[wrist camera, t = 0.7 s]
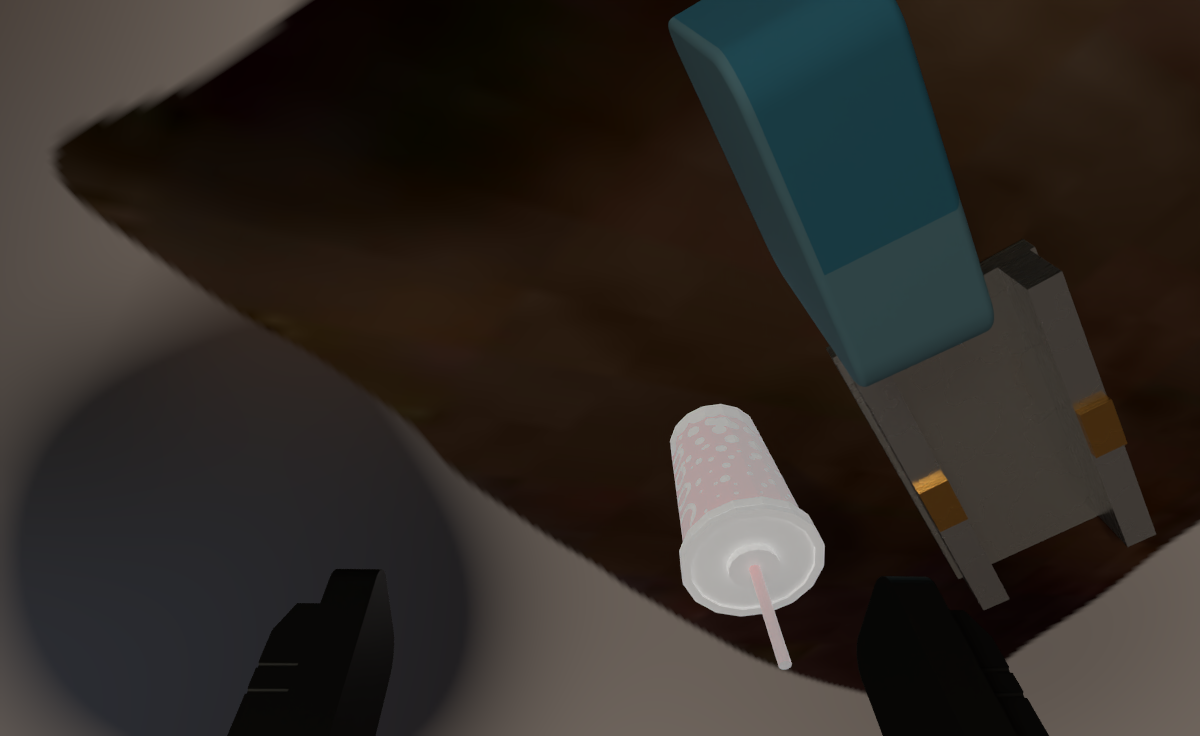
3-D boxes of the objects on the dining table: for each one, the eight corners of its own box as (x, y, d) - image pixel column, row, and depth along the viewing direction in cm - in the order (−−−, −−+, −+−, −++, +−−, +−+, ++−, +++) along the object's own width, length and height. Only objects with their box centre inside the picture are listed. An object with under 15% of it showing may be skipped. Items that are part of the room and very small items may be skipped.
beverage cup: (692, 373, 37) (760, 584, 25) (794, 417, 39) (903, 634, 27) (634, 464, 40) (670, 694, 28) (732, 501, 42) (806, 734, 30)
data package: (868, 220, 34) (1008, 346, 24) (776, 267, 35) (871, 408, 25) (767, -47, 28) (891, -36, 18) (661, 17, 29) (720, 63, 19)
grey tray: (1023, 238, 35) (1073, 271, 31) (1117, 489, 43) (1166, 537, 39) (825, 348, 37) (853, 389, 34) (950, 566, 45) (983, 618, 42)
